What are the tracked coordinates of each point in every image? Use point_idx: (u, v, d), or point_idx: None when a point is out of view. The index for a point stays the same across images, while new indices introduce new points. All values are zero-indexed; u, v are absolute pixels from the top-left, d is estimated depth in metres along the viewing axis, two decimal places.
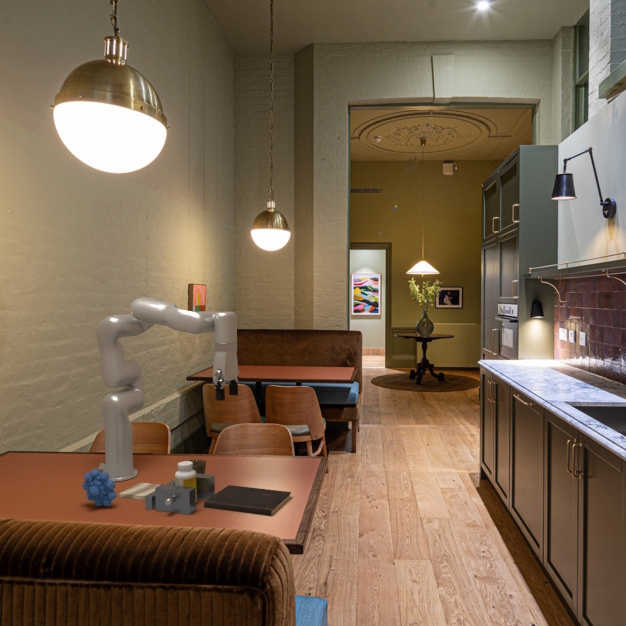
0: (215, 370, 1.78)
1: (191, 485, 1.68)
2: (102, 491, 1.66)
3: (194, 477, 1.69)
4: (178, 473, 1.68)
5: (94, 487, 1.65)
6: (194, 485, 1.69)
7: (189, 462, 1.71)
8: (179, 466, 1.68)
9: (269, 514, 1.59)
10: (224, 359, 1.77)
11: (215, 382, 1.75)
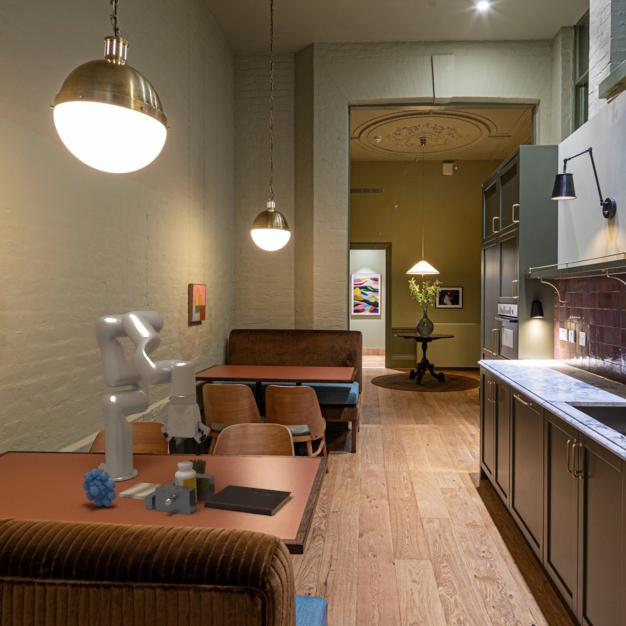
0: (196, 424, 1.66)
1: (191, 485, 1.68)
2: (102, 491, 1.66)
3: (194, 477, 1.69)
4: (178, 473, 1.68)
5: (94, 487, 1.65)
6: (194, 485, 1.69)
7: (189, 462, 1.71)
8: (179, 466, 1.68)
9: (269, 514, 1.59)
10: (199, 410, 1.69)
11: (207, 434, 1.67)
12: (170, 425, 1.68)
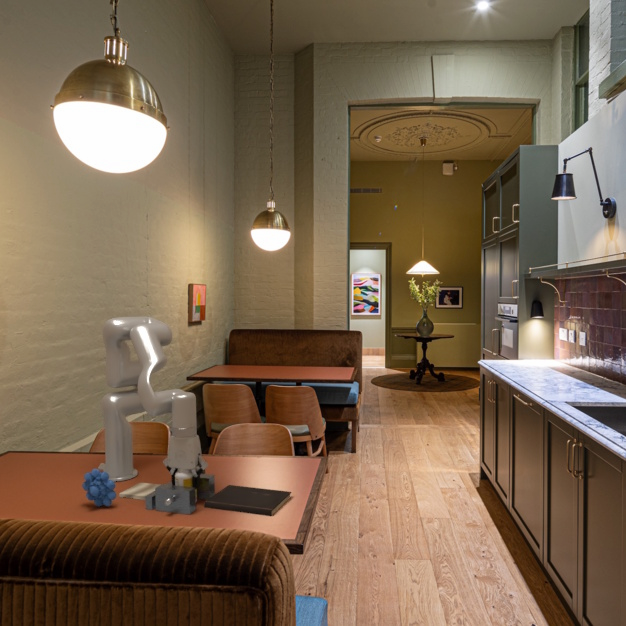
0: (196, 456, 1.67)
1: (191, 485, 1.68)
2: (102, 491, 1.66)
3: None
4: (178, 473, 1.68)
5: (94, 487, 1.65)
6: None
7: None
8: None
9: (269, 514, 1.59)
10: (199, 442, 1.70)
11: (204, 469, 1.68)
12: (170, 456, 1.68)
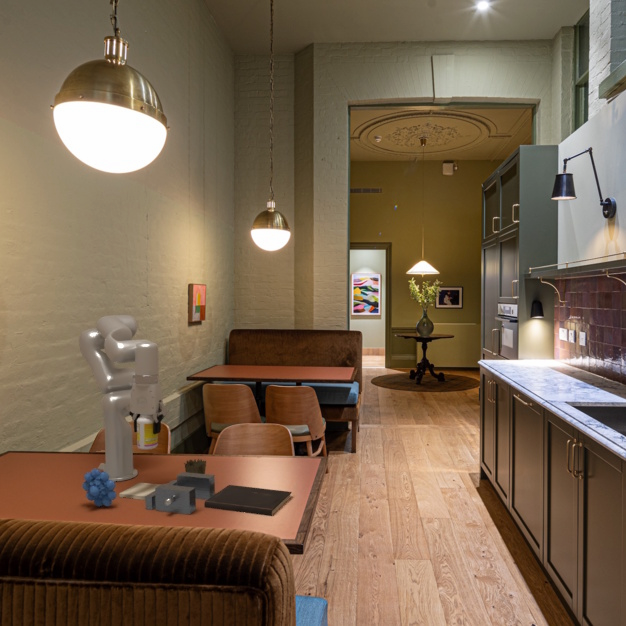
0: (157, 402, 1.75)
1: (152, 430, 1.76)
2: (102, 491, 1.66)
3: None
4: (140, 418, 1.76)
5: (94, 487, 1.65)
6: None
7: None
8: None
9: (270, 514, 1.59)
10: None
11: (164, 415, 1.76)
12: (132, 402, 1.76)
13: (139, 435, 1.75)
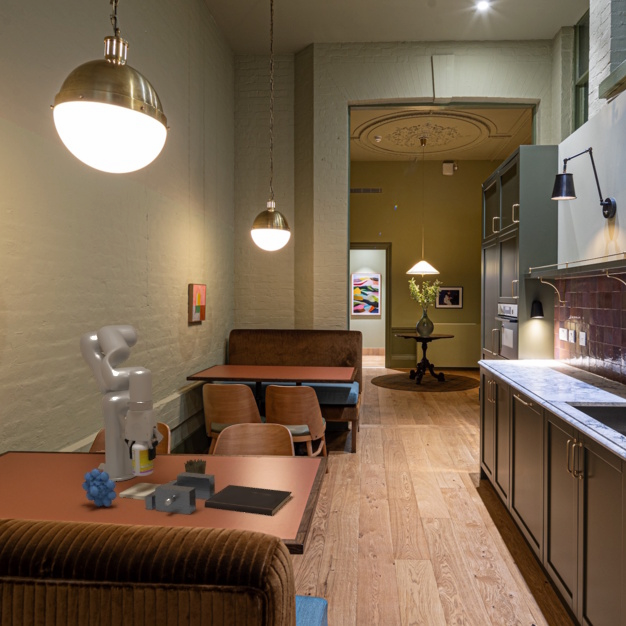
0: (152, 428, 1.76)
1: (147, 456, 1.77)
2: (102, 491, 1.66)
3: None
4: (135, 445, 1.77)
5: (94, 487, 1.65)
6: None
7: None
8: None
9: (270, 514, 1.59)
10: (155, 415, 1.79)
11: (159, 441, 1.77)
12: (127, 429, 1.78)
13: (135, 462, 1.77)
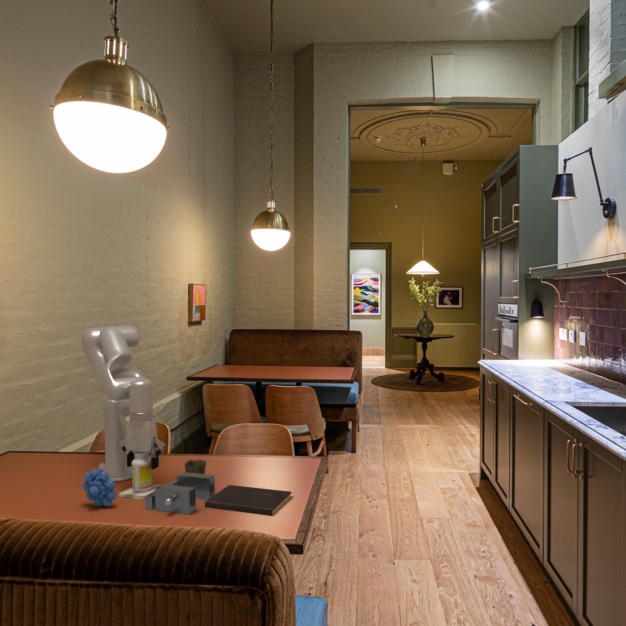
0: (152, 439, 1.76)
1: (147, 472, 1.78)
2: (102, 491, 1.66)
3: (150, 464, 1.79)
4: (134, 460, 1.78)
5: (94, 487, 1.65)
6: (150, 472, 1.79)
7: None
8: (135, 454, 1.78)
9: (270, 514, 1.59)
10: (155, 426, 1.79)
11: (162, 449, 1.77)
12: (128, 440, 1.78)
13: (134, 478, 1.77)
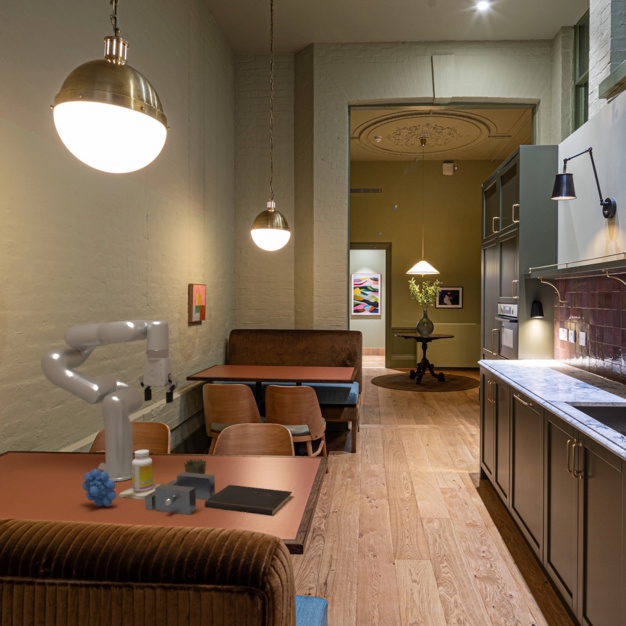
0: (166, 375, 1.89)
1: (147, 472, 1.78)
2: (102, 491, 1.66)
3: (150, 464, 1.79)
4: (134, 460, 1.78)
5: (94, 487, 1.65)
6: (150, 472, 1.79)
7: (146, 450, 1.81)
8: (135, 454, 1.78)
9: (270, 514, 1.59)
10: None
11: (176, 385, 1.89)
12: (145, 375, 1.91)
13: (134, 478, 1.77)
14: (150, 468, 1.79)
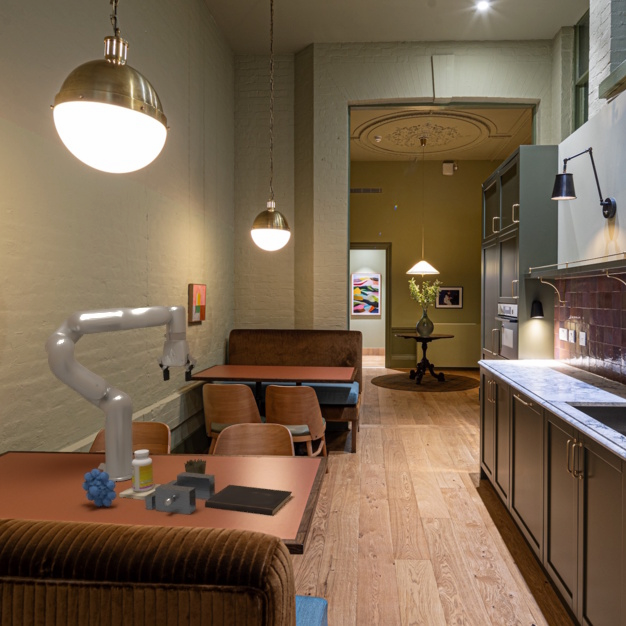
0: (185, 356, 2.06)
1: (147, 472, 1.78)
2: (102, 491, 1.66)
3: (150, 464, 1.79)
4: (134, 460, 1.78)
5: (94, 487, 1.65)
6: (150, 472, 1.79)
7: (145, 450, 1.81)
8: (135, 454, 1.78)
9: (270, 514, 1.59)
10: (188, 345, 2.09)
11: (194, 364, 2.06)
12: (164, 357, 2.07)
13: (134, 478, 1.77)
14: (150, 468, 1.79)
